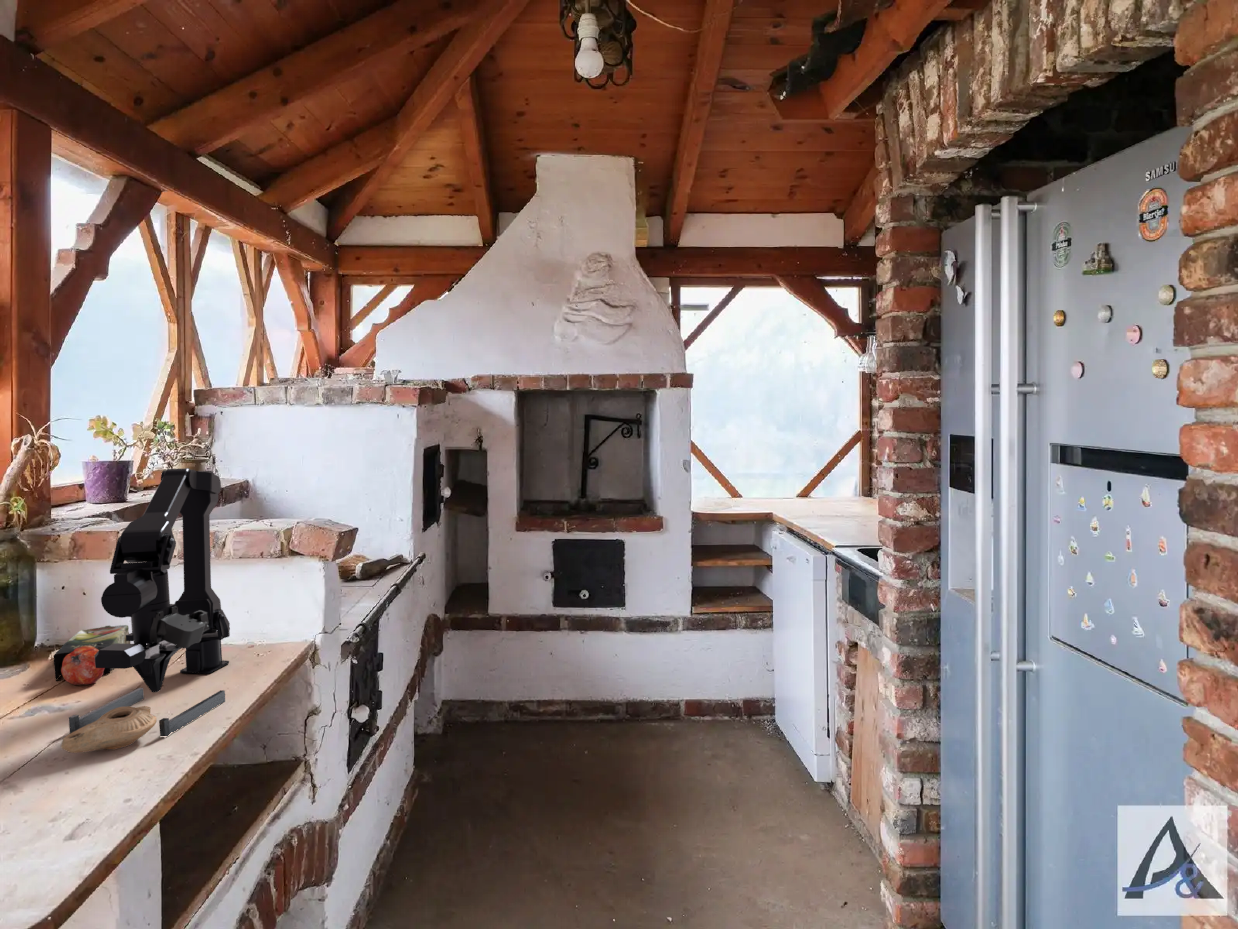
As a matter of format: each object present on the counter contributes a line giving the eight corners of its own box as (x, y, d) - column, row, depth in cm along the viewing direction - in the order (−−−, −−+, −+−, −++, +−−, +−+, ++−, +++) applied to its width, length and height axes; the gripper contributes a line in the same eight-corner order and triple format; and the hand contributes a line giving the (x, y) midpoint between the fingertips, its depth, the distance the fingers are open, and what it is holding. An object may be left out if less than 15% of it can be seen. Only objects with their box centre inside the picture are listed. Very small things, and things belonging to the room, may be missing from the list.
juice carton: (79, 653, 165) (77, 625, 165) (132, 647, 169) (130, 620, 169) (52, 684, 147) (50, 653, 147) (112, 677, 151) (110, 646, 150)
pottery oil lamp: (47, 757, 114) (57, 707, 117) (134, 755, 123) (141, 710, 126) (71, 749, 109) (81, 698, 112) (160, 749, 118) (167, 701, 121)
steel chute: (139, 698, 137) (138, 683, 137) (225, 701, 135) (224, 686, 135) (69, 734, 123) (68, 717, 122) (165, 738, 120) (164, 720, 120)
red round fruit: (74, 690, 149) (39, 673, 140) (93, 653, 153) (60, 636, 144) (108, 695, 148) (75, 679, 139) (127, 658, 152) (96, 641, 143)
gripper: (153, 617, 119) (160, 715, 120) (229, 588, 137) (234, 673, 138) (88, 616, 120) (95, 713, 121) (172, 588, 138) (177, 672, 140)
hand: (156, 691), depth 130 cm, fingers closed
